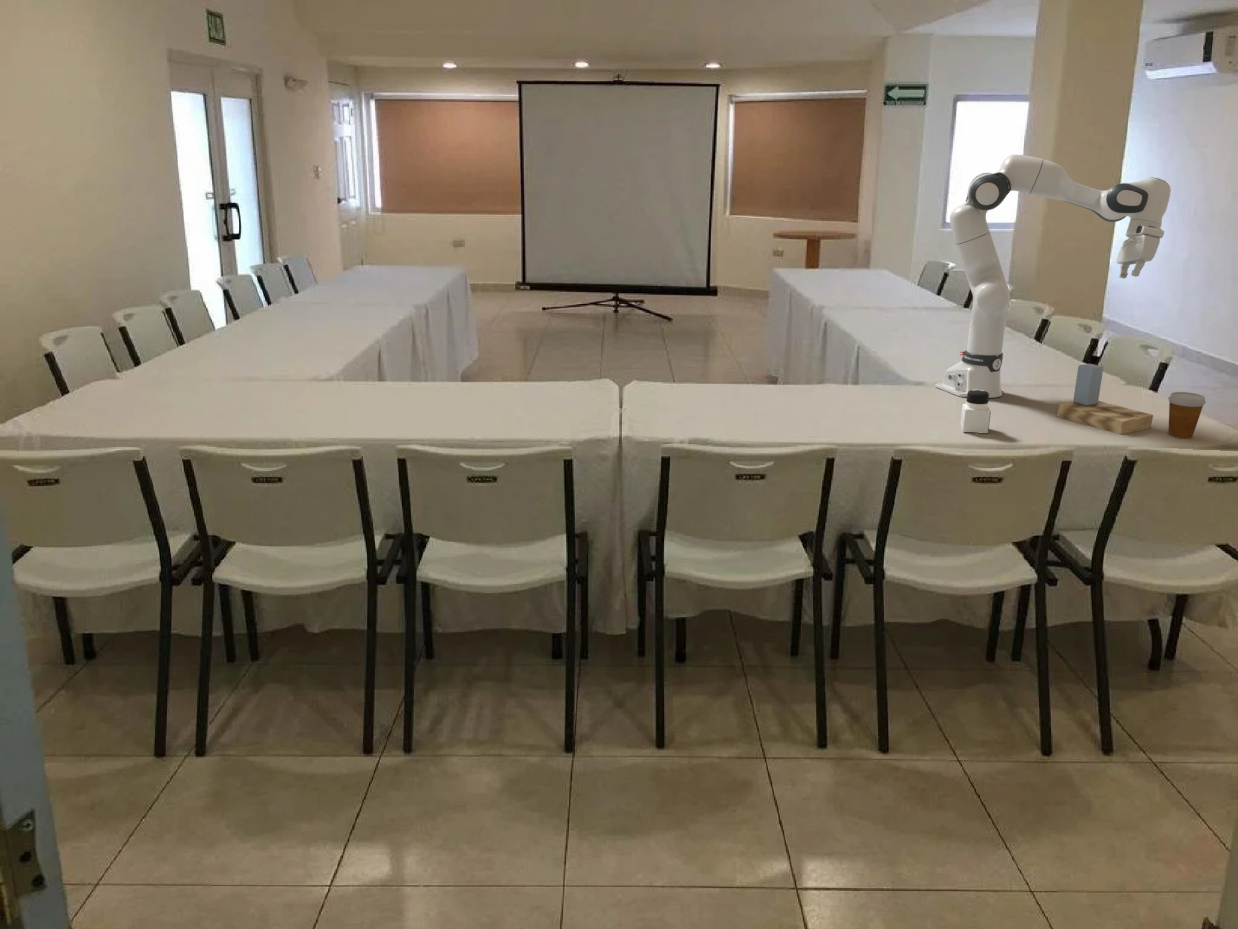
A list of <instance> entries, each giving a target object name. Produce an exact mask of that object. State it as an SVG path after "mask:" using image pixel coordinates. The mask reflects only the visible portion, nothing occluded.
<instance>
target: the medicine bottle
mask: <svg viewBox="0 0 1238 929" xmlns="http://www.w3.org/2000/svg"><path fill="white" fill-rule="evenodd" d="M989 399H990V398H989V393H988V392H986V391H984V390H970V391H968V393H967V397H966V402H965V403H962V406H961V407H962V408H961V416H960V424H959V425H960V429H961V431H962V430H963V431H962V433H963V432H979V433H980V432H982V433H988V434H989V428H990V422H991V421H990V420H991V409H990V408H989V407H990V406H989ZM979 433H978V434H979Z"/></svg>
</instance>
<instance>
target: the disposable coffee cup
mask: <svg viewBox="0 0 1238 929" xmlns="http://www.w3.org/2000/svg"><path fill="white" fill-rule="evenodd" d="M1205 398H1206V397H1205V396H1204V395H1202V394H1199V393H1194V392H1190V391H1189V392H1188V391H1186V392H1185V391H1175V392H1171V393H1170V395H1169V397H1168V402H1169V404H1168V405H1169V407H1168V430H1167V432H1168V433H1167V434H1168V436H1171V437H1174V438H1178V439H1192V438H1193V437H1194V434H1195V431H1196V427H1197V425H1198V422H1199V419H1200V416H1201V412H1202V410H1203V408H1204V406H1205V404H1206V399H1205Z"/></svg>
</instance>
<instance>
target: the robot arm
mask: <svg viewBox="0 0 1238 929" xmlns="http://www.w3.org/2000/svg"><path fill="white" fill-rule="evenodd" d="M1171 190H1172V189H1171V186H1170V184H1169V182H1167V181H1166V180H1164V179H1161V178H1159V177H1153V176H1149V177H1146V178H1144V179H1142V180H1139V181H1138V180H1137V181H1133V182H1123V183H1122V182H1121V183H1117V184H1115V185H1114V186H1112V187H1111V188H1109V189H1107V190H1102V189H1101V190H1100V189H1097V188H1093V187H1090V186H1087V185H1085V184H1081V183H1079V182H1076V181H1074V180H1073V179H1072V178H1071V177H1070V176H1069V174H1068V172H1067V171H1066V169H1065V168H1064V166H1062V165H1060V164H1059V163H1056V162H1054V161H1051V160H1048V159H1044V158H1041V157H1037V156H1032V155H1026V154H1025V155H1023V154H1011V155H1009V156H1007V157H1006V158H1005V159H1004V160H1003V162H1002V163H1001V165H1000V167H999V169H998V171H996V172H994V173H992V172H983V173H981V174H978V175H976V176H975V177H974V178H973V179H972V180H971V182H970V183H969V186H968V190H967V194H966V195H967V196H966V199H965V203H962V204H960V205H958V206H956V208H954V209H953V210H952V212H951V213H950V216H949V222H950V223H949V224H950V229H951V234H952V237H953V241H954V244H955V247H956V251H957V254H958V256H959V260H960V263H961V265H962V269H963V271H964V274H965V276H966V279H967V282H968V285H969V288H970V291H971V294H972V298H973V299H972V307H971V314H970V321H969V322H970V323H969V329H968V336H967V346H966V350H965V351H960V354H959V356H962V358H961V360H960V361H958V362H957V363H955V364H953V365H951V366H950V367H948V368H947V369H946V370H945V372H944V375H943V380H942V381H939V382H937V383H935V385H934V387H935V388H937V389H940V390H942V391H945V392H948V393H949V394H953V395H955V396H958V397H962V398H967V393H968V391H970V390H984V391H986V392H988V393H989V399H991V398H992V399H993V398H998V397H1002V395H1003V393H1002V385H1001V367H1002V364H1003V358H1004V353H1003V347H1004V346H1003V345H1004V336H1005V330H1006V324H1007V320H1008V313H1009V312H1008V311H1009V308H1010V299H1011V292H1010V289H1009V285H1008V284H1007V281H1006V278H1005V274H1004V272H1003V271H1004V270H1003V269H1002V265H1001V262H1000V259H999V255H998V253H997V250H996V246H995V243H994V241H993V240H994V239H993V237H992V235H991V231H990V228H989V225H988V223H987V213H988V212H989V211H991V210H994V209H996V208H997V207H999V206H1000V205H1001V204H1002V203H1003V201H1004V200H1005V199H1006V197H1007V196H1008V195H1009V194H1010V192H1020V193H1024V194H1027V195H1031V196H1034V197H1038V198H1043V199H1052V200H1056V201H1061V202H1066V203H1069V204H1071V205H1073V206H1077V207H1082V208H1084V209H1087V210H1090V211H1091V212H1093V213H1094V214H1095V215H1096V216H1098V217H1099V218H1100V219H1102V220H1103V221H1106V222H1108V223H1116V222H1120V221H1122V220H1124V219H1125V218H1126V217H1129V218H1130V220H1129V223H1128V227H1127V229H1126V233H1125V236H1126V237H1127V239H1125V240H1124V241H1123V242H1122V244H1121V246H1120V250H1118V251H1119V252H1118V254H1117V257H1116V263H1117V265H1120V267H1119V268H1120V272H1119V275H1118V277H1119V278H1120V279H1126V278H1128V277H1127V276H1128V274H1129V273H1128V270H1129V268H1130V265H1135V266H1134V268H1133V269H1132V272H1131V274H1130V275H1131V277H1137V278H1138V277H1139V276H1140V273H1141V271H1142V269H1143V268H1144V266H1145V264H1146V262H1147V263H1148V262H1152V260H1153V259H1154V258H1155V256H1156V253H1157V250H1158V248H1159V245H1160V242H1161V239H1163V238H1164V234H1165V231H1164V230H1163V229H1161V228H1162V225H1163V224H1162V222H1163V221H1162V220H1163V218H1164V215H1165V213H1166V211H1167V208H1168V205H1169V202H1170V199H1171V198H1170V197H1171Z"/></svg>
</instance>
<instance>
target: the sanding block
mask: <svg viewBox="0 0 1238 929" xmlns="http://www.w3.org/2000/svg"><path fill="white" fill-rule="evenodd" d="M1103 372H1104V366H1101V365H1096V364H1092V363H1085V364H1079V365H1078V367H1077V373H1076V380H1075V386H1074V394H1073V400H1072V402H1073V403H1074V404H1078V405H1081V406H1085V407H1089V406H1095V405H1098V401H1099V399H1100V393H1101V392H1100V390H1101V385H1102V381H1103V380H1102V379H1103Z"/></svg>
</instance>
